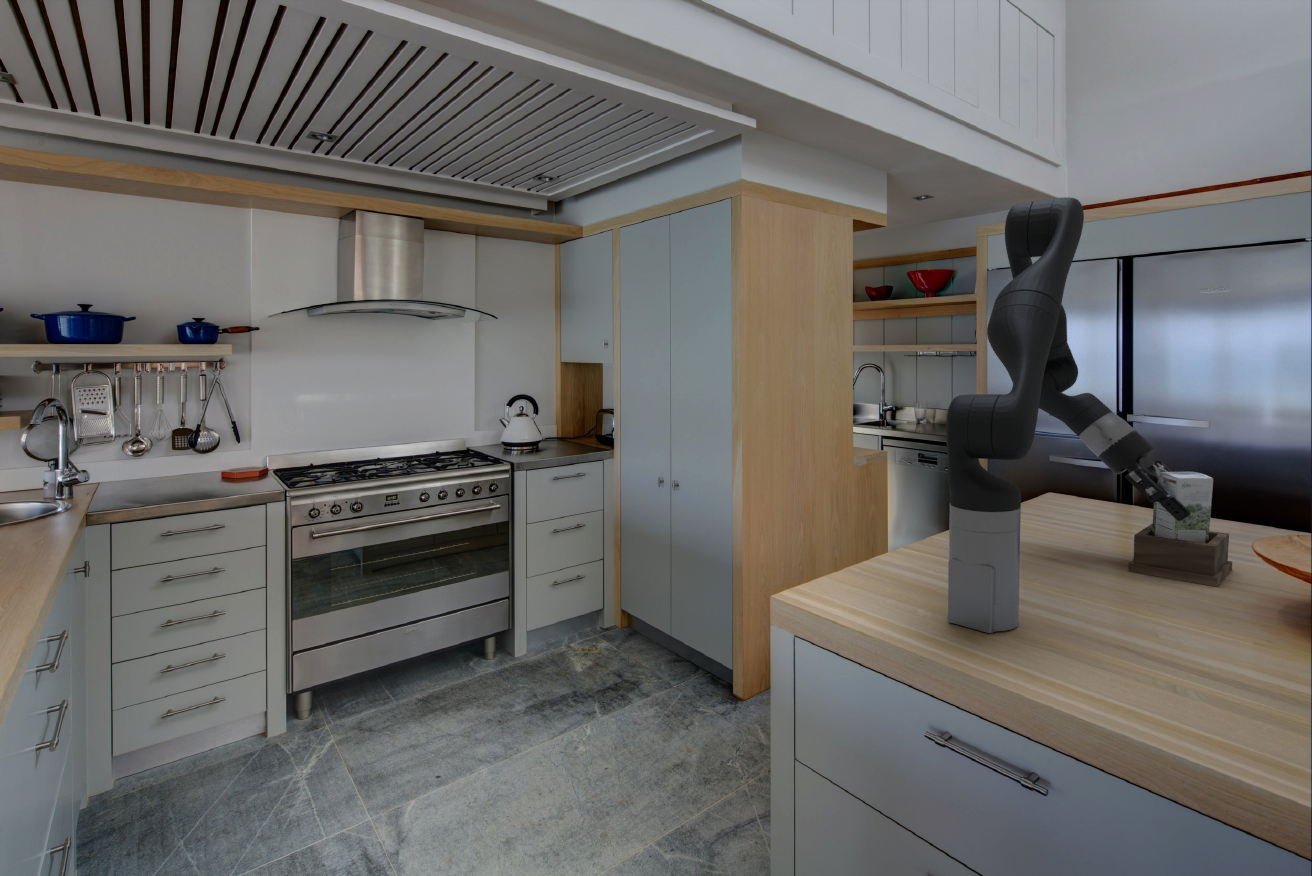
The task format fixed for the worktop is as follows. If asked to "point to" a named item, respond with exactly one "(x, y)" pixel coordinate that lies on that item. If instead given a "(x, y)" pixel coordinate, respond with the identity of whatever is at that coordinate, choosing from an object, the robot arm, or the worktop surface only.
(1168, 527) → the syrup box
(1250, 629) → the worktop surface
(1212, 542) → the holder
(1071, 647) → the worktop surface
